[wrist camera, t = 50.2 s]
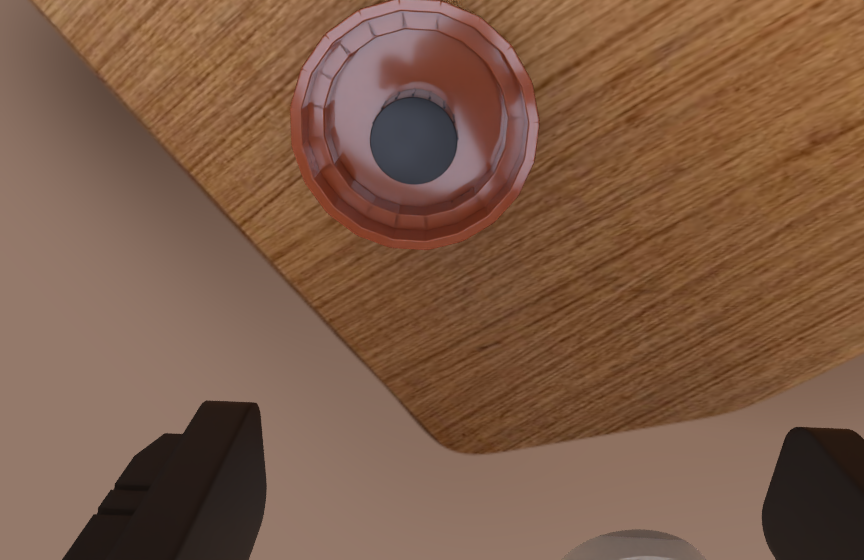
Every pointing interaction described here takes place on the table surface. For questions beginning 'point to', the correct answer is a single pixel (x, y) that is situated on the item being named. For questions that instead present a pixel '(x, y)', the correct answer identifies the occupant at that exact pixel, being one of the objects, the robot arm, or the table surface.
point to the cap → (414, 137)
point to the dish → (402, 70)
